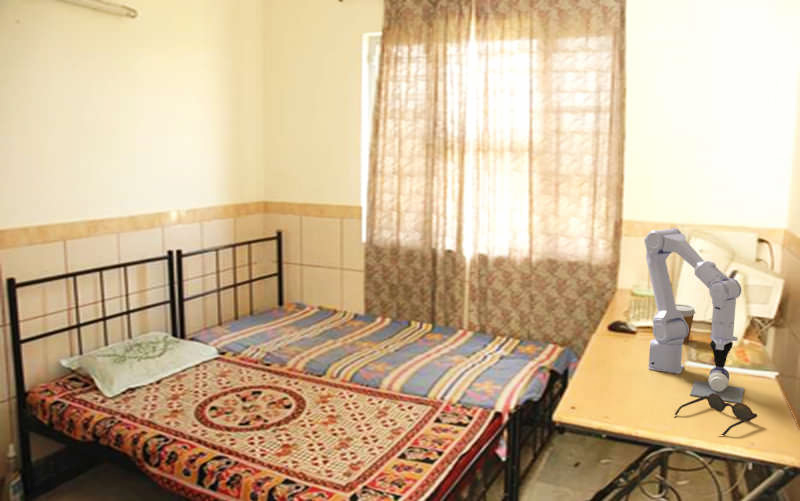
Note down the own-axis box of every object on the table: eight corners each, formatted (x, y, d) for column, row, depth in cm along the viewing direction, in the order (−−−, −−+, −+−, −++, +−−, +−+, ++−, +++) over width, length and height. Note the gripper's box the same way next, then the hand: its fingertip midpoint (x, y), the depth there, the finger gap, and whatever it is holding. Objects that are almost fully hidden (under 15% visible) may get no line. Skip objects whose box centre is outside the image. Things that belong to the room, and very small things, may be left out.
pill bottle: (731, 381, 194) (730, 392, 186) (712, 384, 196) (711, 395, 188) (726, 364, 193) (724, 374, 186) (707, 367, 196) (705, 377, 188)
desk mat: (690, 395, 188) (690, 394, 188) (694, 381, 198) (695, 380, 198) (741, 404, 181) (741, 402, 181) (743, 389, 192) (743, 387, 192)
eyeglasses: (756, 425, 169) (758, 407, 168) (720, 440, 162) (722, 421, 161) (704, 406, 182) (706, 388, 181) (669, 418, 174) (670, 400, 173)
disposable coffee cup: (697, 344, 232) (700, 310, 230) (670, 344, 232) (672, 311, 230) (686, 335, 241) (688, 303, 239) (660, 336, 242) (662, 304, 239)
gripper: (737, 329, 181) (733, 377, 184) (740, 316, 194) (736, 361, 196) (709, 326, 185) (705, 372, 187) (713, 313, 197) (710, 357, 200)
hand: (719, 366), depth 192 cm, fingers closed
